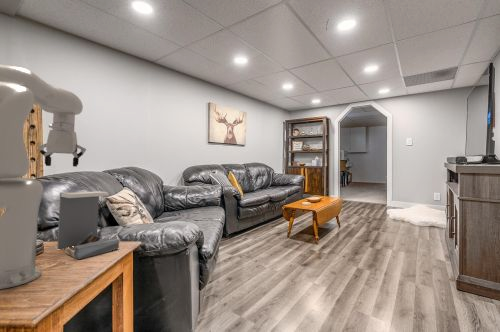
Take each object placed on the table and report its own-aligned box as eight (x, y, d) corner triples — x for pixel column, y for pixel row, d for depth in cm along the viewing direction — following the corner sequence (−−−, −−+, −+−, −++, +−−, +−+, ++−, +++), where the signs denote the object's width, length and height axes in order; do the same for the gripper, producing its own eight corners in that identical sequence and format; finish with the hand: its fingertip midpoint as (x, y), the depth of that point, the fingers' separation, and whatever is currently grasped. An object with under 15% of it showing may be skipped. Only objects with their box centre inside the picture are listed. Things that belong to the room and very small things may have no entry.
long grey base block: (118, 249, 99) (119, 239, 99) (78, 259, 86) (78, 248, 86) (104, 243, 106) (104, 234, 106) (65, 253, 93) (65, 242, 93)
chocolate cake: (85, 257, 91) (105, 231, 100) (68, 252, 91) (90, 226, 100) (91, 266, 98) (110, 241, 106) (76, 261, 98) (95, 236, 106)
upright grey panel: (106, 245, 105) (108, 192, 106) (66, 254, 92) (69, 194, 93) (95, 241, 110) (97, 191, 111) (57, 249, 97) (60, 193, 98)
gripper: (34, 124, 95) (32, 165, 94) (84, 128, 101) (82, 166, 100) (43, 128, 102) (41, 165, 101) (89, 131, 108) (87, 167, 107)
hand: (61, 166), depth 101 cm, fingers open, 9 cm apart
